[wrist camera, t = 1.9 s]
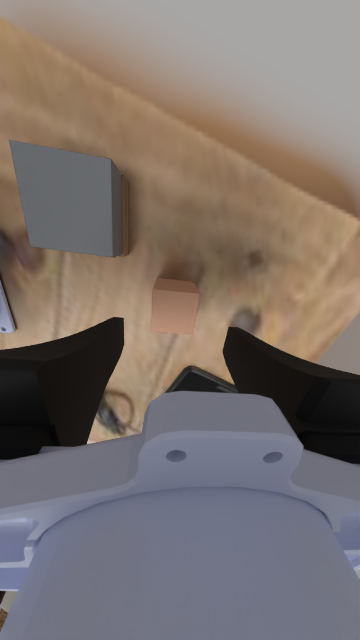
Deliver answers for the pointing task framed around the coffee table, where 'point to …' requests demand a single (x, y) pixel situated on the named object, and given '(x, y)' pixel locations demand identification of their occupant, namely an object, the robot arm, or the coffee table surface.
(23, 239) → the coffee table surface
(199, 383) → the phone
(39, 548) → the robot arm
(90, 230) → the charcoal slab
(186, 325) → the terracotta block
